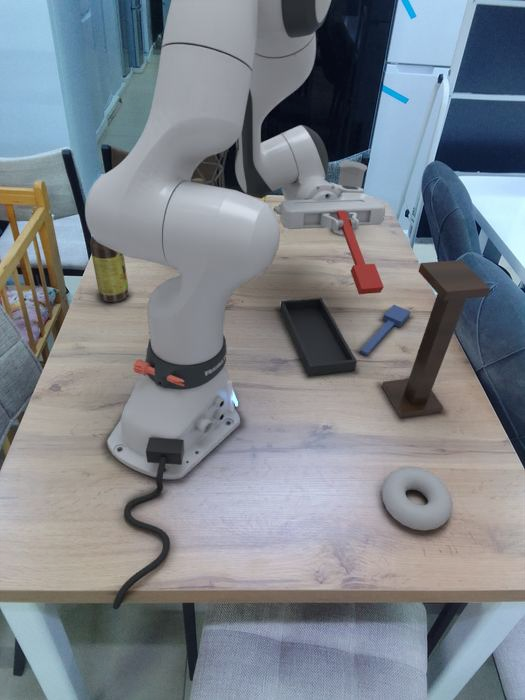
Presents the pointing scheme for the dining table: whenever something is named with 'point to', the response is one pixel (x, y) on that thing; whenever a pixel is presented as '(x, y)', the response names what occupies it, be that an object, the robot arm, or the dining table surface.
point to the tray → (317, 337)
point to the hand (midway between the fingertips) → (347, 226)
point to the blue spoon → (387, 326)
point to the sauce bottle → (109, 272)
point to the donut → (413, 513)
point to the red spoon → (360, 262)
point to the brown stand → (435, 336)
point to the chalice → (351, 176)
